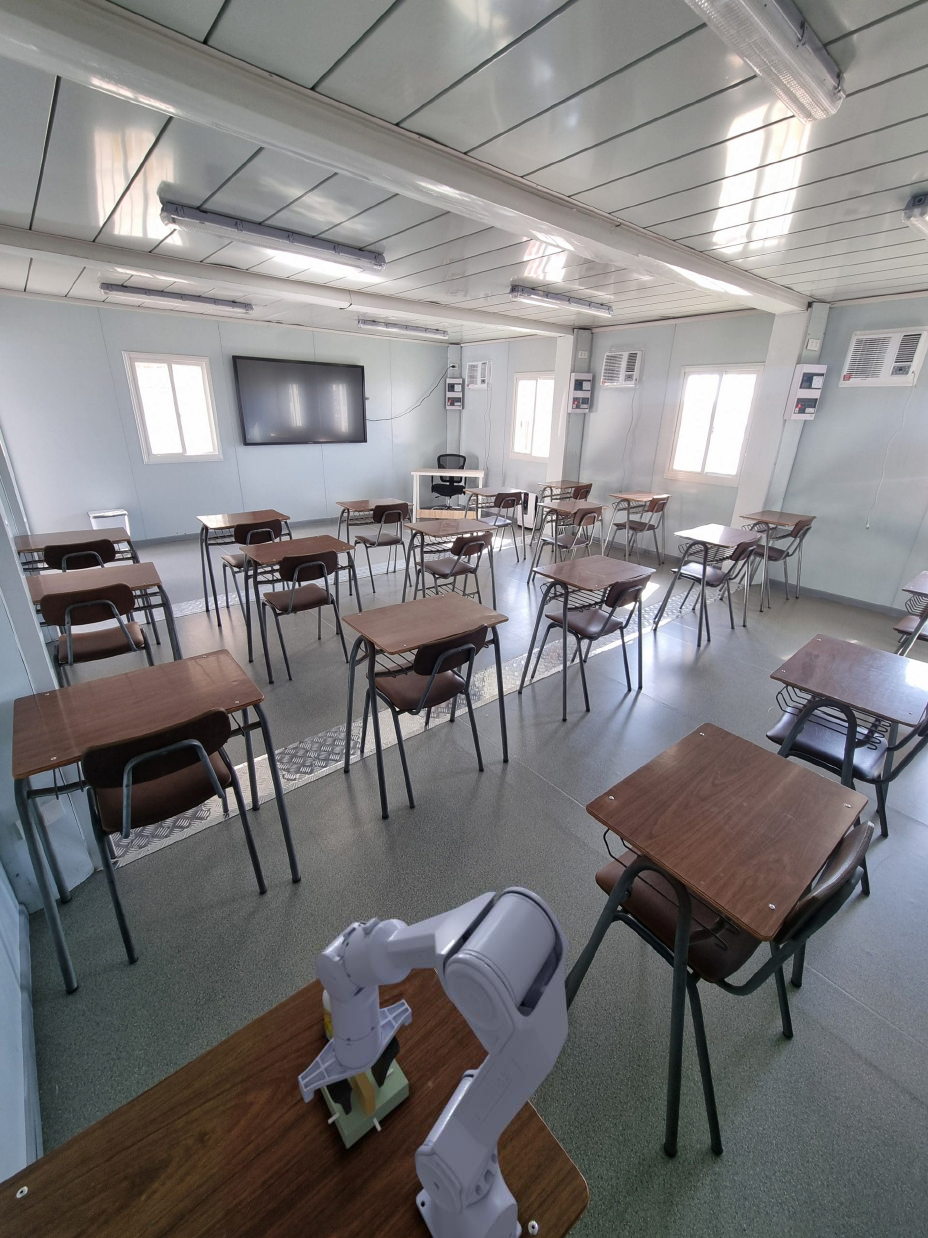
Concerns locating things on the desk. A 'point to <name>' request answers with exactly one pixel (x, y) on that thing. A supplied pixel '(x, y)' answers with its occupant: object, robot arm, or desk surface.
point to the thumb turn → (364, 1092)
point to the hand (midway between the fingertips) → (361, 1093)
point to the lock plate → (384, 1100)
